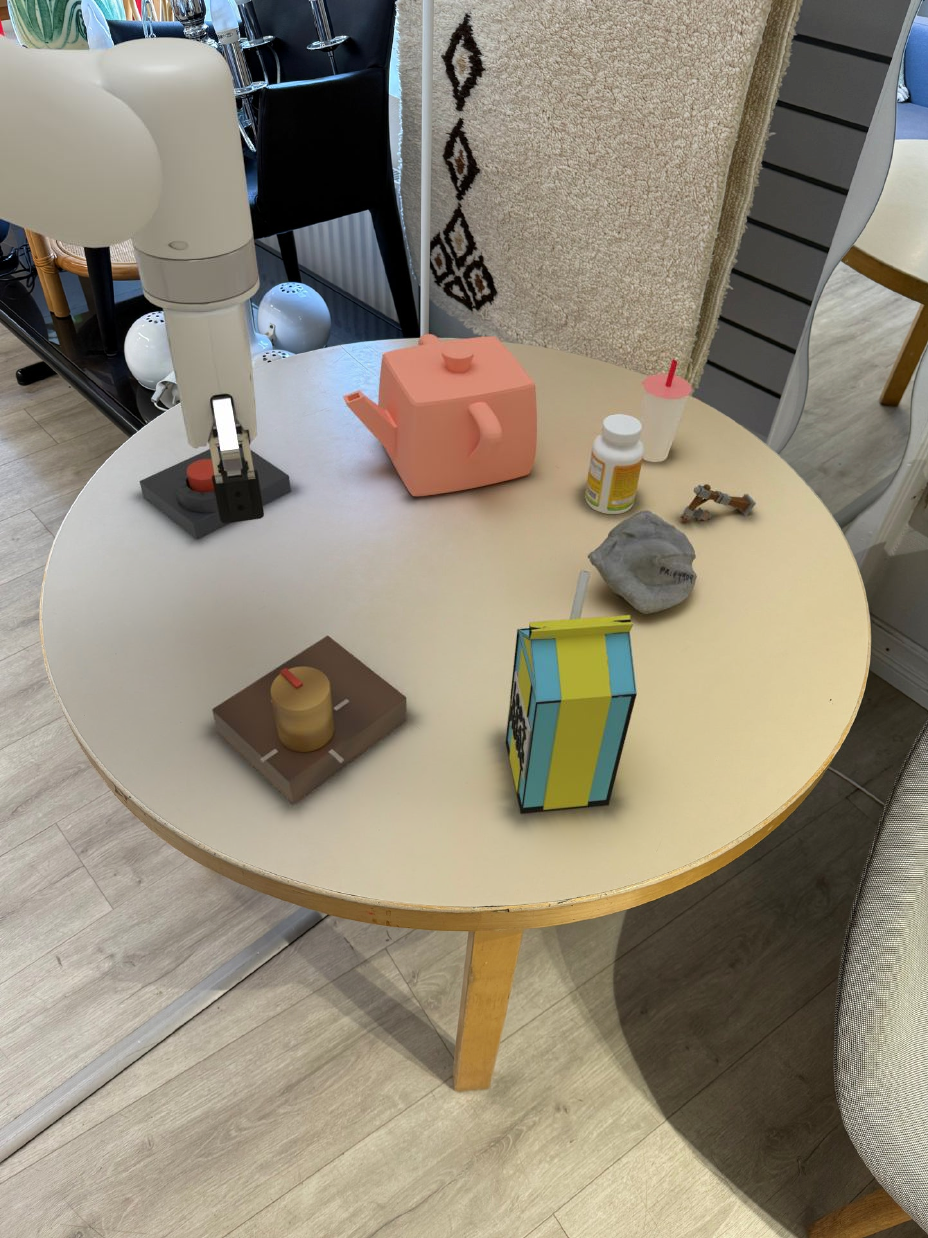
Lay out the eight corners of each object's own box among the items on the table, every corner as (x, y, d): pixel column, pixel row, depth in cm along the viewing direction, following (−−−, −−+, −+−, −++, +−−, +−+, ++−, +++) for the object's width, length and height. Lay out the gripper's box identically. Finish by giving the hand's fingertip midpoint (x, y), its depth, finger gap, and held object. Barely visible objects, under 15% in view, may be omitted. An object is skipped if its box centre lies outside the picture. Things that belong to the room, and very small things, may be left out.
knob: (346, 731, 71) (341, 686, 67) (300, 762, 69) (293, 717, 65) (311, 700, 73) (305, 654, 70) (266, 729, 71) (258, 683, 67)
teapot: (481, 402, 113) (486, 294, 103) (554, 503, 98) (569, 389, 89) (325, 428, 107) (315, 317, 98) (378, 540, 93) (373, 422, 83)
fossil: (619, 640, 83) (633, 575, 78) (563, 583, 89) (572, 518, 83) (710, 602, 88) (730, 537, 82) (651, 549, 93) (666, 485, 88)
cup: (684, 453, 106) (706, 360, 98) (659, 473, 103) (680, 378, 95) (646, 436, 108) (664, 343, 100) (620, 454, 106) (637, 360, 97)
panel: (301, 818, 69) (297, 794, 67) (214, 734, 74) (207, 709, 72) (418, 729, 75) (417, 704, 73) (330, 658, 81) (327, 633, 79)
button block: (198, 541, 92) (191, 510, 89) (143, 497, 97) (135, 466, 94) (292, 493, 98) (289, 462, 95) (236, 454, 103) (231, 423, 100)
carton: (588, 727, 76) (622, 564, 63) (612, 805, 70) (653, 643, 58) (501, 735, 75) (517, 570, 63) (518, 814, 70) (540, 652, 57)
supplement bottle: (639, 494, 100) (655, 417, 93) (625, 521, 96) (640, 443, 90) (593, 481, 102) (605, 404, 95) (577, 507, 98) (589, 429, 91)
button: (202, 497, 91) (200, 483, 90) (182, 482, 93) (179, 468, 92) (232, 483, 93) (230, 469, 92) (212, 468, 95) (209, 454, 94)
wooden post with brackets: (671, 512, 96) (694, 477, 94) (724, 524, 100) (748, 492, 98) (679, 522, 95) (703, 487, 93) (732, 534, 99) (757, 501, 97)
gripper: (136, 219, 64) (181, 428, 76) (141, 332, 52) (194, 558, 64) (243, 211, 66) (271, 417, 78) (272, 319, 54) (300, 542, 66)
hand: (236, 481), depth 71 cm, fingers open, 9 cm apart
